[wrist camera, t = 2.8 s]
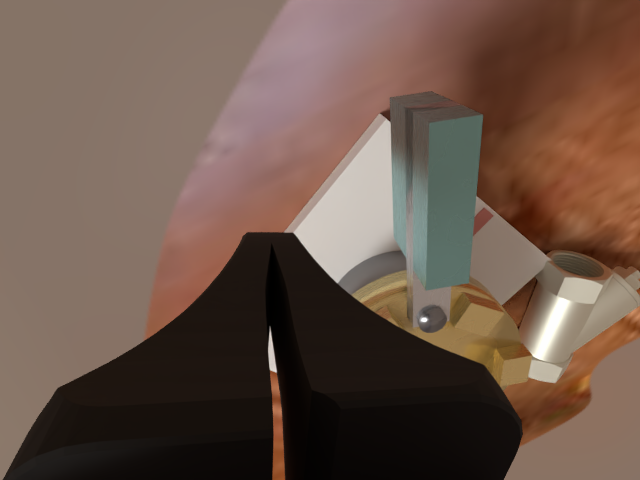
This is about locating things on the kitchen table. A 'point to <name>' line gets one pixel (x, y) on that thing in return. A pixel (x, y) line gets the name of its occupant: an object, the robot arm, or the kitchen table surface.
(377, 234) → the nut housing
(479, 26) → the kitchen table surface
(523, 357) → the gold gear
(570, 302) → the pipe fitting
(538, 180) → the kitchen table surface
